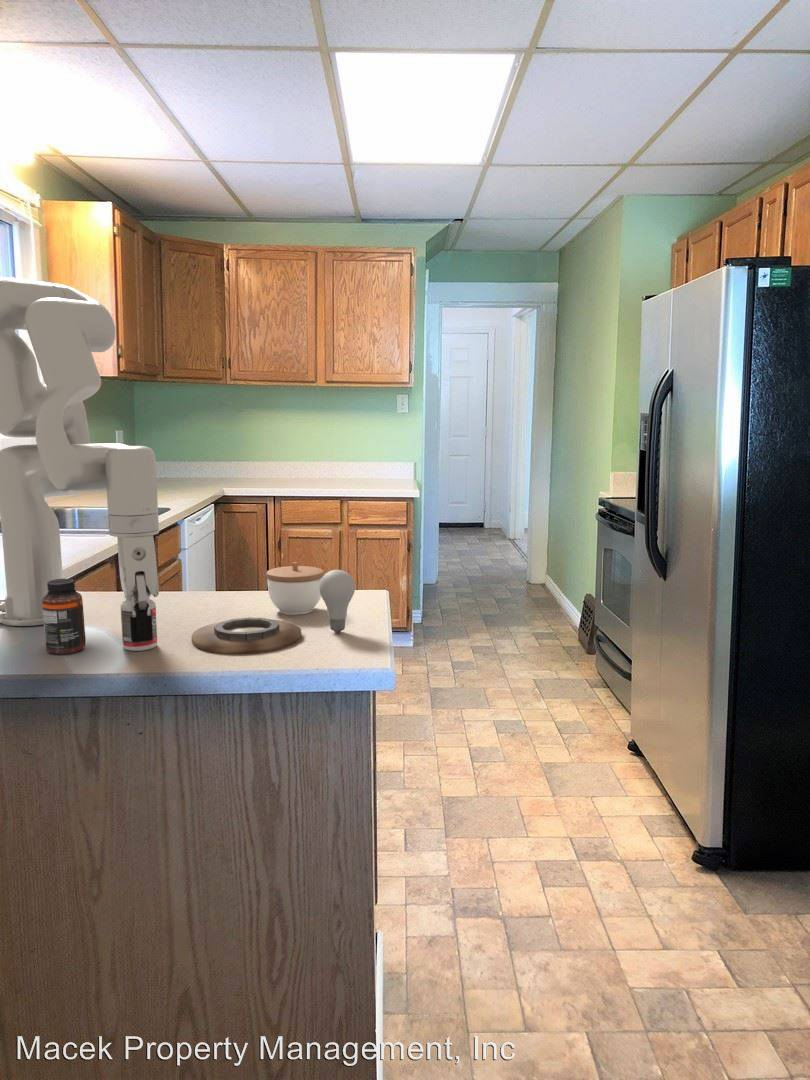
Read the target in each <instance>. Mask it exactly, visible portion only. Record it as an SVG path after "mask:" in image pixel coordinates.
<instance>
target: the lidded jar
mask: <svg viewBox="0 0 810 1080" xmlns="http://www.w3.org/2000/svg"><path fill="white" fill-rule="evenodd" d="M291 564H292V565H291V566H290V565H289V566H288V565H287V566H279V567H274V568H271V569H269V570H267V571H266V578H267V579H266V581H267V590H268V591H267V592H268V595H269V599H270V601H271V603H272V604H273V606H274V607H275V608H277V609H278V610H279V612H280V613H281V614H283V615H289V616H291V615H292V616H295V615H296V616H297V615H299V616H300V615H306V614H309V613H311V612H313V609H314V608H315V607H316V606H317V605H318V604H319V602H320V600H321V598H322V596H321V594H320V591H319V584H320V581H321V579H322V577H323V576H324V575H325V574H324V573H325V572H324V569H322V568H319V567H315V566H310V565H309V566H306V565H299V562H297V561H294V562H291Z"/></svg>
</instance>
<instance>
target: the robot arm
mask: <svg viewBox="0 0 810 1080" xmlns="http://www.w3.org/2000/svg"><path fill="white" fill-rule="evenodd" d="M16 330H24V331H27V334H28V337H29V340H30V343H31V345H32V348H33V351H32V350H31V348H30V347H29V346H28V344H27V343H26V342H25V340H24V339H23V338H22V337H21V336H20V335H19V334H18V333H17V332H16ZM115 340H116V326H115V322H114V320H113V317H112V314H111V313H110V312H109V310H108V309H107V308H106V307H105V306H104V305H103V304H102V303H101V302H99V301H98V300H95V299H93V298H92V297H90V296H88V295H86V294H84V293H82V292H80V291H79V290H77V289H75V288H73V287H70V286H68V285H65V284H61V283H60V284H59V283H52V282H45V281H36V280H31V279H26V278H24V279H23V278H17V277H16V278H15V277H7V276H5V277H3V276H0V434H1V435H3V436H5V437H9V438H35V442H36V444H17V445H12V446H7V447H4V448H2V449H0V524H1V525H0V526H1V536H2V537H1V539H2V540H1V541H2V550H3V551H2V552H3V563H4V574H5V575H4V577H5V588H6V589H5V591H6V593H4V597H0V612H1V613H0V624H3V625H4V626H12V627H32V626H33V627H34V626H44V618H43V606H42V599H43V597H44V596H46V595H47V593H48V586H47V583H48V582H49V581H51V580H56V579H64V578H63V577H64V576H63V562H62V547H61V533H60V523H59V519H58V517H57V515H56V513H55V512H54V510H53V509H52V508H51V507H50V505H49V504H48V503H47V501H46V499H45V498H50V497H58V496H60V497H61V496H70V495H78V494H82V493H85V492H86V493H87V492H95V491H106V499H107V501H106V503H107V515H108V517H107V518H108V535H109V536H110V537H114V538H117V554H118V555H117V557H118V565H119V568H118V569H119V578H120V584H121V589H122V592H123V594H125V596H126V597H127V598H129V599H130V601H131V611H132V617H130V626H131V640H132V642H141V641H150V640H152V639H153V633H152V615H151V612H150V600H149V599H150V597H149V592H150V593H151V596H153V597H154V598H157V597H158V596H159V594H160V593H159V581H158V580H159V579H158V569H157V568H158V567H157V557H156V548H155V546H156V545H155V541H154V540H155V539H154V536H155V535H158V534H159V533H160V525H159V521H160V520H159V508H158V507H159V503H158V499H159V498H158V481H157V461H156V454H155V451H154V450H153V449H152V448H151V447H149V446H144V445H127V444H124V443H116V442H115V443H114V442H111V443H110V442H109V443H105V442H104V443H91V440H90V439H91V437H90V431H89V423H88V417H87V412H86V411H87V410H86V407H85V404H84V402H83V401H85V400H88V399H90V397H92V396H94V394H96V393H97V392H98V391H99V390H100V388H101V386H102V378H101V375H100V371H98V367H97V364H96V362H95V358H94V356H93V353H104V352H106V351H109V349H111V348H112V347H113V345H114V342H115ZM37 363H38V364H37ZM38 366H39V368H40V369H39V370H40V373H41V375H42V378H43V380H44V381H43V382H44V384H43V383H42V382H41V381H40V375H39V372H38ZM133 594H137V595H138V597H133ZM125 596H124V597H125ZM136 601H138V603H136V605H135V602H136Z"/></svg>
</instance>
